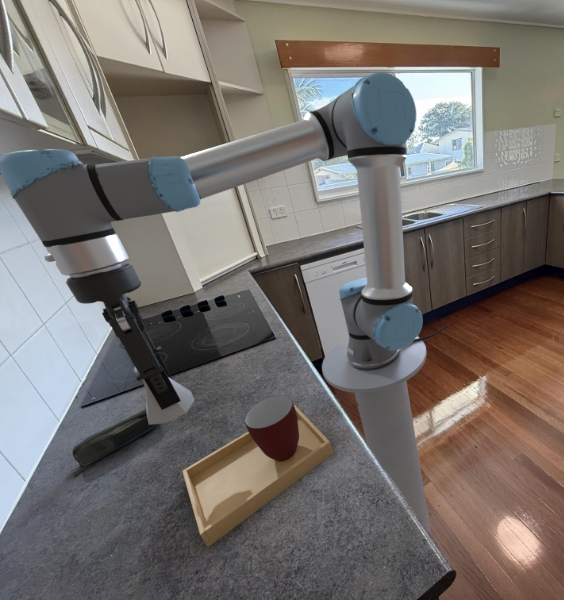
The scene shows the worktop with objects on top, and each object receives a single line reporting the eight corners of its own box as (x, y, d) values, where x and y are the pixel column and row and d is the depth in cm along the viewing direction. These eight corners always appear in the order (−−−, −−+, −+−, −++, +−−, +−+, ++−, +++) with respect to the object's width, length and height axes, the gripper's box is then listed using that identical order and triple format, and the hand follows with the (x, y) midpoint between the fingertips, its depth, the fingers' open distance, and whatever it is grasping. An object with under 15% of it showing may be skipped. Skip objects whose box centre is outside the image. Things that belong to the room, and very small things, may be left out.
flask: (197, 387, 59) (176, 345, 54) (191, 416, 53) (166, 372, 48) (153, 400, 57) (126, 357, 52) (141, 432, 51) (109, 387, 46)
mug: (246, 454, 59) (227, 414, 55) (282, 425, 65) (267, 386, 61) (280, 479, 53) (261, 435, 49) (316, 444, 59) (302, 403, 55)
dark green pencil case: (148, 404, 72) (58, 451, 61) (152, 409, 70) (60, 458, 59) (157, 421, 73) (71, 469, 63) (161, 426, 72) (73, 476, 61)
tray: (297, 414, 68) (294, 404, 67) (333, 453, 57) (329, 441, 56) (188, 482, 56) (182, 470, 55) (208, 547, 45) (200, 534, 44)
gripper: (70, 268, 50) (139, 384, 59) (53, 290, 36) (146, 438, 45) (128, 255, 54) (184, 365, 63) (133, 270, 40) (203, 408, 49)
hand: (168, 395), depth 54 cm, fingers open, 6 cm apart
